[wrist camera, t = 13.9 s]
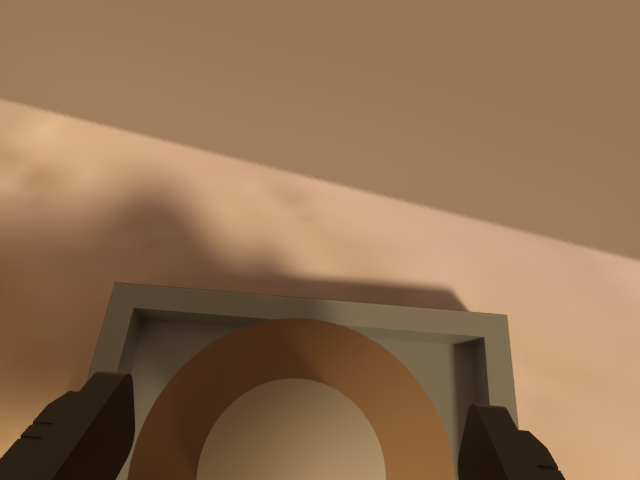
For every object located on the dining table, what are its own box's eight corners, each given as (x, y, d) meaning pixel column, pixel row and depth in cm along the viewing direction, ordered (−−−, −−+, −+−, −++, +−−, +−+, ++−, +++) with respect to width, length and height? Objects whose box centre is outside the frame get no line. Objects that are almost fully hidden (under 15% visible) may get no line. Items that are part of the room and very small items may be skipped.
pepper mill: (365, 414, 19) (475, 304, 7) (361, 565, 17) (506, 761, 5) (240, 404, 19) (142, 276, 7) (218, 553, 17) (27, 720, 5)
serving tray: (486, 332, 22) (507, 314, 20) (516, 712, 16) (551, 748, 14) (133, 302, 22) (115, 282, 20) (38, 672, 16) (-4, 703, 14)
